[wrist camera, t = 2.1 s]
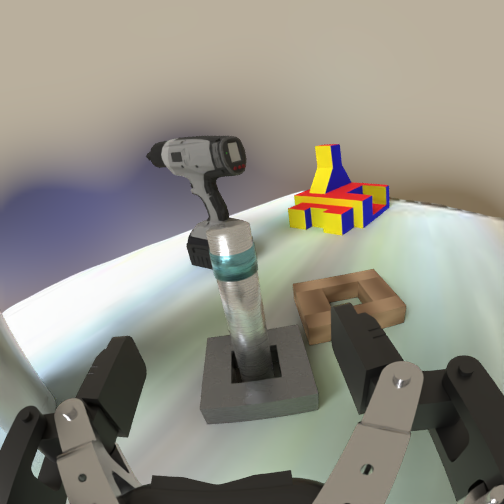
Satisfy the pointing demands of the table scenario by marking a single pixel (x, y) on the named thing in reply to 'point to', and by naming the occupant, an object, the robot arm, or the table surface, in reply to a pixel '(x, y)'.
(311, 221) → the building blocks toy
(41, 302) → the table surface
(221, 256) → the clear test tube
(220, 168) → the cordless drill
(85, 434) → the robot arm
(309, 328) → the rack block
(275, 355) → the grey flat square frame
